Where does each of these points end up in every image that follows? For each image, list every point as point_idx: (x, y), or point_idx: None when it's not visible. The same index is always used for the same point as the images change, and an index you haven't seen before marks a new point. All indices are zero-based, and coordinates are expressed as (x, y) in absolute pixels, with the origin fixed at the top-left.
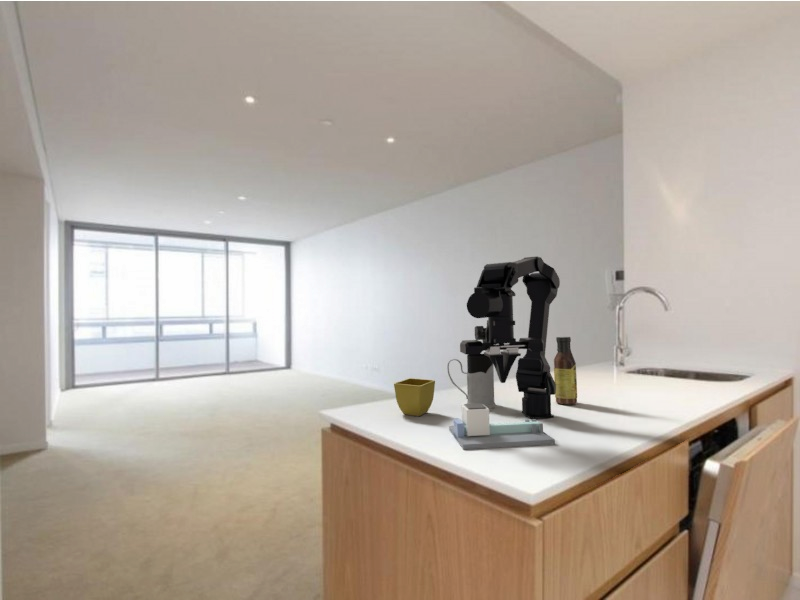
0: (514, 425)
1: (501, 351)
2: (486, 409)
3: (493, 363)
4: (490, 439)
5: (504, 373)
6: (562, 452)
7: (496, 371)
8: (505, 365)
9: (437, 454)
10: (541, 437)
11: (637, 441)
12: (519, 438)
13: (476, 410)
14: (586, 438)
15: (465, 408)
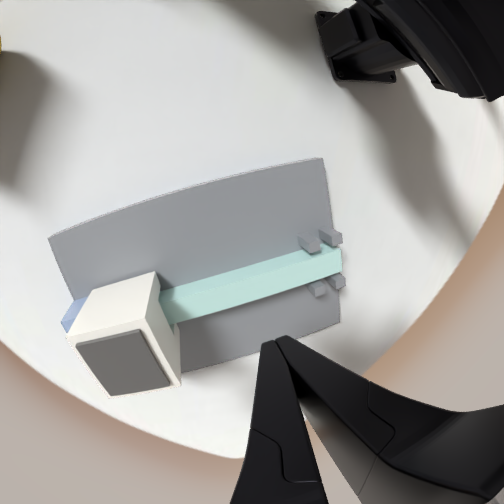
0: (261, 297)
1: (500, 489)
2: (172, 387)
3: (243, 483)
4: (183, 350)
5: (309, 421)
6: (329, 355)
7: (254, 407)
8: (344, 466)
9: (89, 397)
10: (316, 314)
11: (453, 266)
12: (260, 332)
13: (138, 392)
14: (404, 262)
15: (96, 382)
